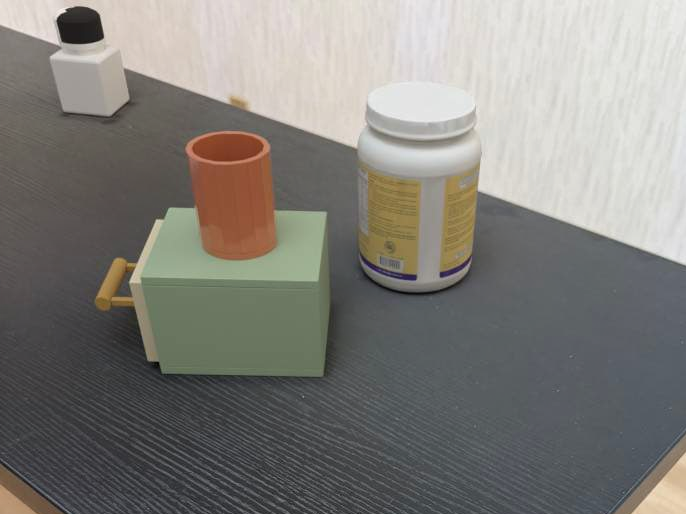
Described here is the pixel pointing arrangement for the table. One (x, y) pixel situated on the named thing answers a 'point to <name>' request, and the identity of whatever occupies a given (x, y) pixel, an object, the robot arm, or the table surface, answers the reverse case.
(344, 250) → the table surface
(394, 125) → the supplement tub
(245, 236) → the cup
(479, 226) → the table surface
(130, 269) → the drawer
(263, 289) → the cabinet
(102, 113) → the medicine bottle
